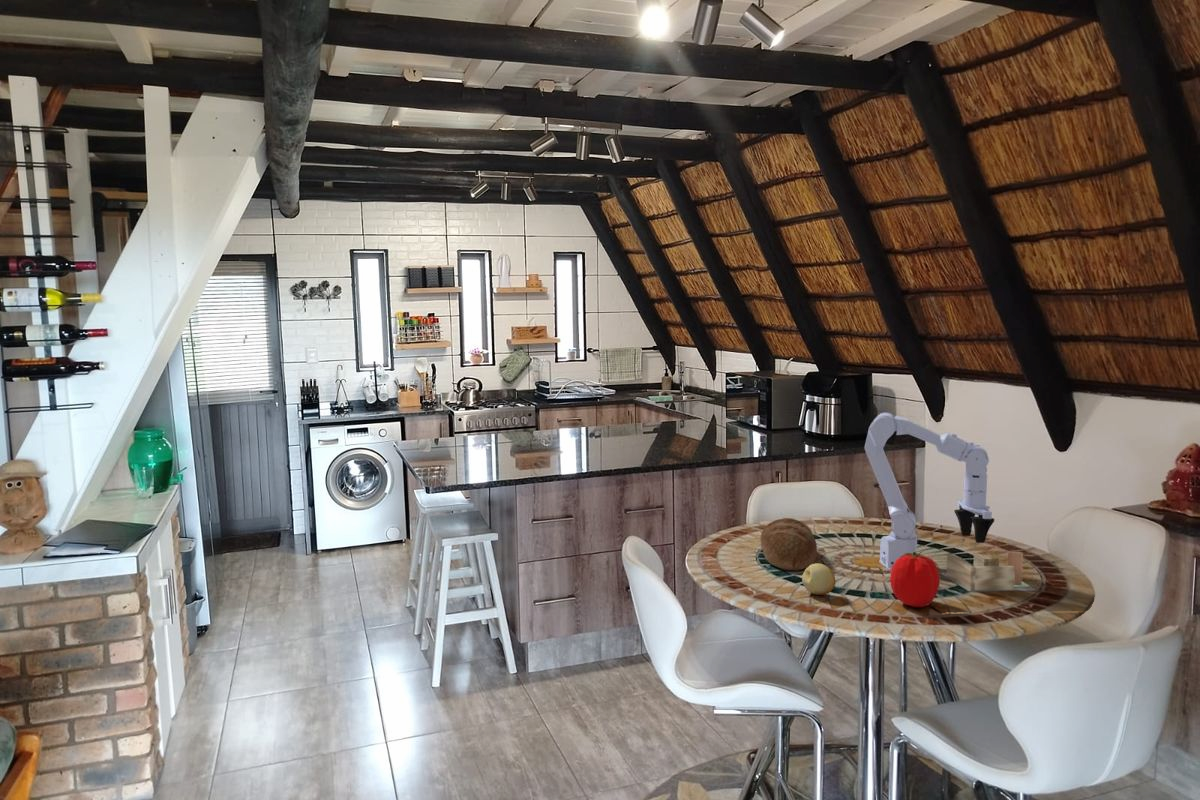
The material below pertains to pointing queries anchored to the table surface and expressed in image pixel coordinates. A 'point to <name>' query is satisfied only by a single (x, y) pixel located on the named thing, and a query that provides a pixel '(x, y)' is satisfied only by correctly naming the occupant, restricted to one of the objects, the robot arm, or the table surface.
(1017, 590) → the board
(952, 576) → the tan piece
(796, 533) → the bread
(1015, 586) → the pad
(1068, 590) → the table surface
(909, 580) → the tomato
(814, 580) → the fruit
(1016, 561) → the peg
